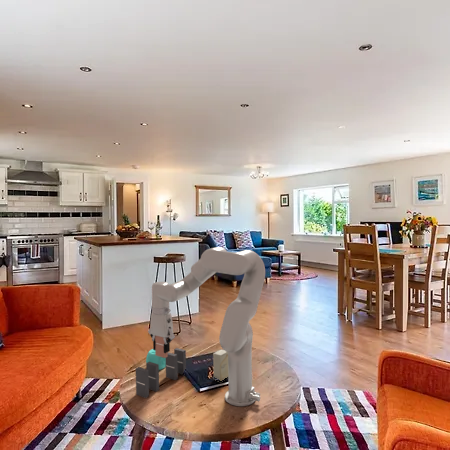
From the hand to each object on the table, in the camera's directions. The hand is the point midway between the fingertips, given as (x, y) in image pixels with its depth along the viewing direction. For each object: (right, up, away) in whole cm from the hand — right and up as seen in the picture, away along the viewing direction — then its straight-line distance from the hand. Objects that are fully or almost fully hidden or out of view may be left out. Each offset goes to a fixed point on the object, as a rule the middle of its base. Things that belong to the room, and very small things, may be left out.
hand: (161, 350), depth 152 cm
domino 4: (+4, -15, +5) cm, 16 cm away
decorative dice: (-5, -15, +17) cm, 23 cm away
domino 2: (-3, -15, -5) cm, 16 cm away
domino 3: (0, -2, 0) cm, 2 cm away
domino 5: (+7, -14, +10) cm, 19 cm away
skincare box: (+27, -14, +4) cm, 30 cm away
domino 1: (-6, -15, -10) cm, 19 cm away
